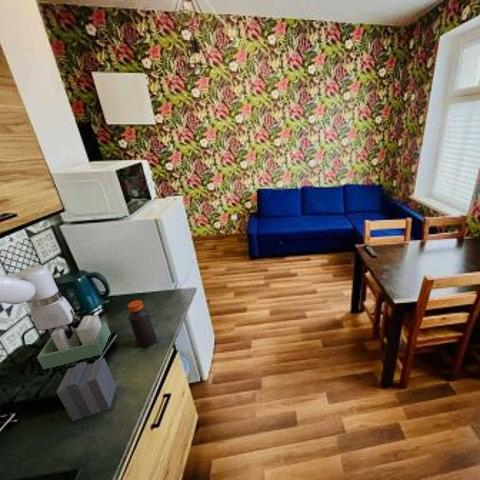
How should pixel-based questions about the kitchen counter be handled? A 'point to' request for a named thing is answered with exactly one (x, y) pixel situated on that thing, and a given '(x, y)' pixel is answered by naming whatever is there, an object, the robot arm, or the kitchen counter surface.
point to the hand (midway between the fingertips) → (65, 337)
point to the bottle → (141, 324)
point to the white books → (89, 329)
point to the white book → (64, 339)
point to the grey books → (87, 389)
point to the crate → (73, 350)
